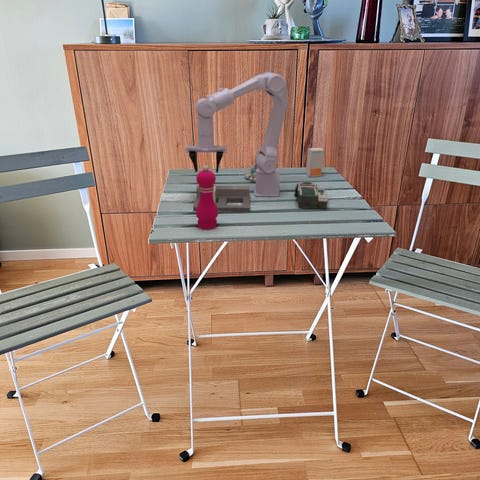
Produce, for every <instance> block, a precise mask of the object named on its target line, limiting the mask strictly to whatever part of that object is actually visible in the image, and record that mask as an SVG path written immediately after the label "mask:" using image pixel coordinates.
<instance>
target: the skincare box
mask: <svg viewBox="0 0 480 480" xmlns="http://www.w3.org/2000/svg"><path fill="white" fill-rule="evenodd" d="M324 155H325V149H323V148H322V147H311V148H310V147H309V148H307V156H306V167H305V175H306V176H307V177H309V178H311V177H313V178H314V177H322V173H323V165H324V164H323V163H324Z"/></svg>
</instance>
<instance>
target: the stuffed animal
mask: <svg viewBox="0 0 480 480" xmlns="http://www.w3.org/2000/svg"><path fill="white" fill-rule="evenodd" d="M256 169H257V165H256V164H255V163H254V164H253V165H252V166H251V167H250V170H249V171H247V172H245V173H244V175H243V176H244V177H245V178H246V180H249V182H255V183H256Z"/></svg>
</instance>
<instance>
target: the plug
mask: <svg viewBox="0 0 480 480" xmlns="http://www.w3.org/2000/svg"><path fill="white" fill-rule="evenodd" d="M216 186H217V185H214V191H213V199H214V202H215V204H216V205H217V202H216Z"/></svg>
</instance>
